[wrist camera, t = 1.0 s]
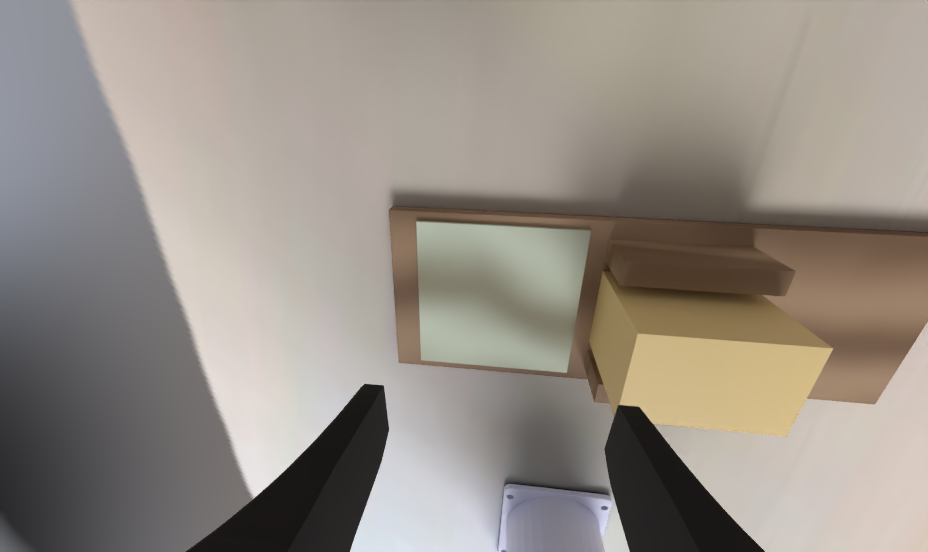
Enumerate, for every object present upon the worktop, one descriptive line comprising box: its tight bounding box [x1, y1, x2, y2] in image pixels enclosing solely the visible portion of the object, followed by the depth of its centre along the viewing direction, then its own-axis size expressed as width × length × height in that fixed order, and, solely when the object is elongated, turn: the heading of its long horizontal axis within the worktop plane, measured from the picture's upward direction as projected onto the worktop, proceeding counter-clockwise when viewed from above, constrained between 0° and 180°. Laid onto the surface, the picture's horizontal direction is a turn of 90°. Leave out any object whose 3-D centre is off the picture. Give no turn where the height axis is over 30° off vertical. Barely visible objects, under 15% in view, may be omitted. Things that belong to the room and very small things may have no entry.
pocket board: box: [389, 206, 928, 404], centre depth 20 cm, size 10×28×4 cm, turn 89°
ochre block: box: [589, 271, 833, 437], centre depth 18 cm, size 4×7×6 cm, turn 89°
